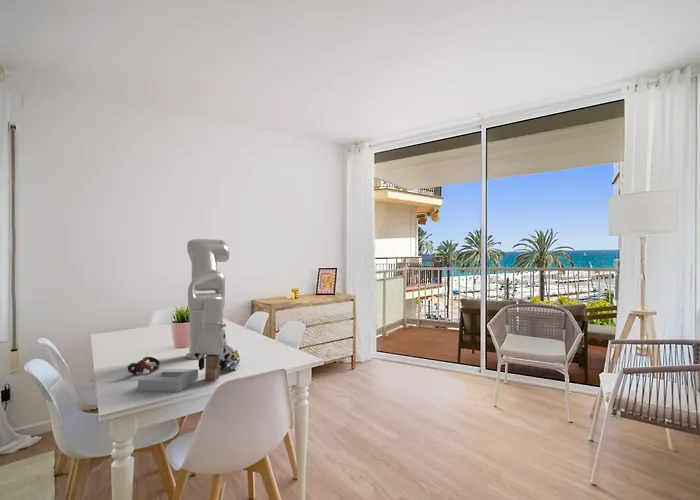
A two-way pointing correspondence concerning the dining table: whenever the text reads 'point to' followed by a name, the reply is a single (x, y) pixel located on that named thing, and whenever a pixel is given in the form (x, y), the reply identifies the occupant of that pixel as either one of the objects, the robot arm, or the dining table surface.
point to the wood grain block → (212, 368)
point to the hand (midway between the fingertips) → (212, 369)
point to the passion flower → (231, 360)
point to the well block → (168, 380)
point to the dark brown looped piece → (143, 366)
